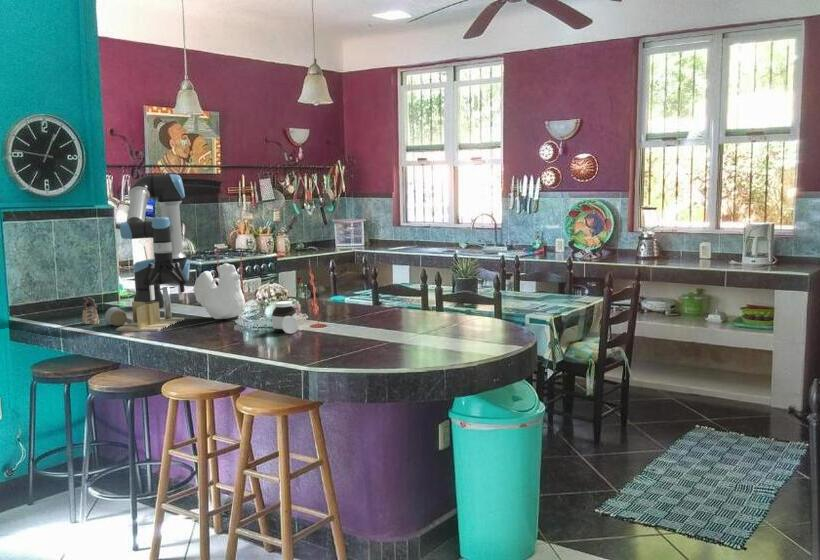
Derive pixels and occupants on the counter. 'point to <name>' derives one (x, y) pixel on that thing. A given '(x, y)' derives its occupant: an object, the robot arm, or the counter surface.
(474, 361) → the counter surface
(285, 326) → the spread jar
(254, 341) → the counter surface
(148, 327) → the birch board
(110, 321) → the ceramic mug
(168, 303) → the hinge pin
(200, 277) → the decorative rooster
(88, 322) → the figurine
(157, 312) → the brass hinge
